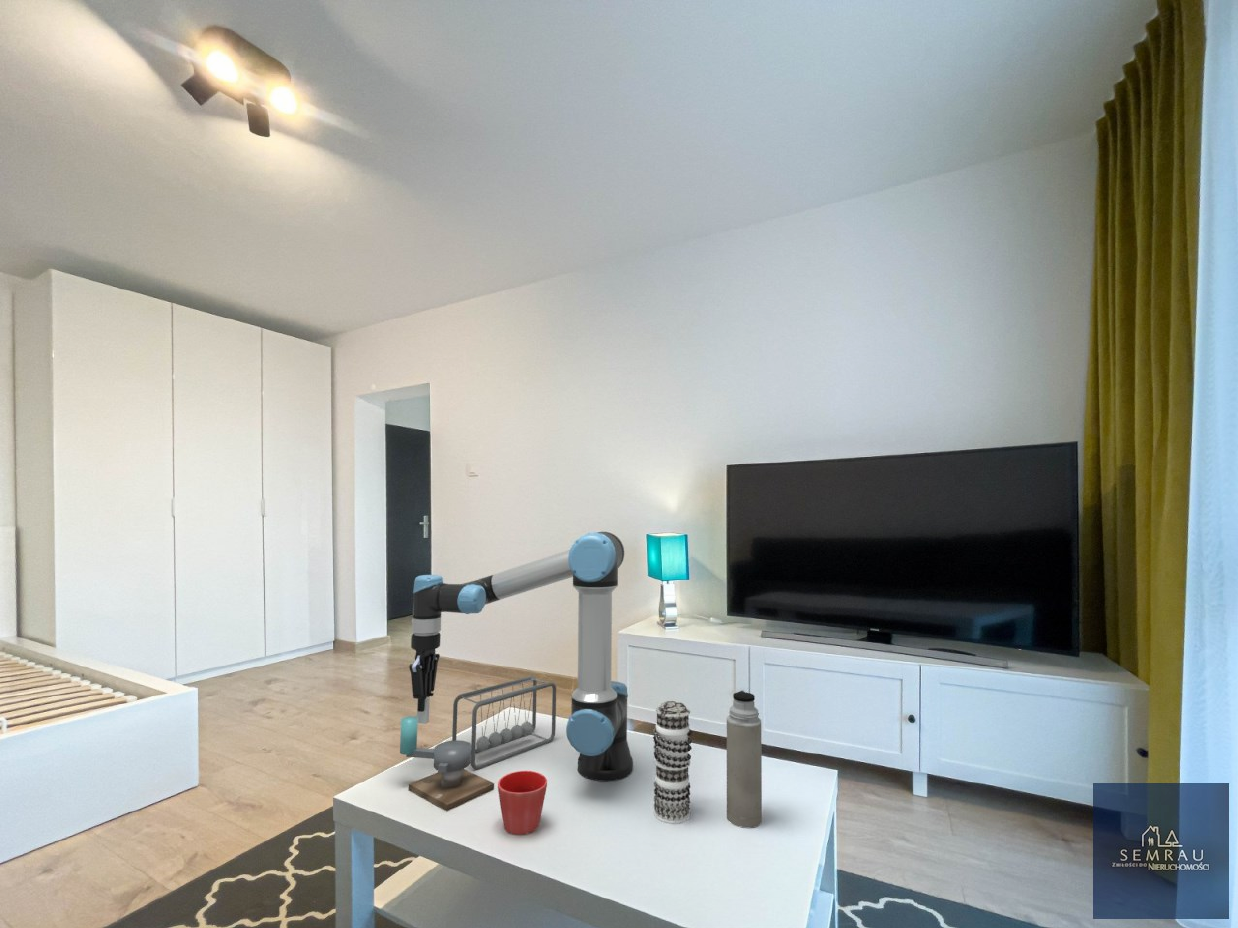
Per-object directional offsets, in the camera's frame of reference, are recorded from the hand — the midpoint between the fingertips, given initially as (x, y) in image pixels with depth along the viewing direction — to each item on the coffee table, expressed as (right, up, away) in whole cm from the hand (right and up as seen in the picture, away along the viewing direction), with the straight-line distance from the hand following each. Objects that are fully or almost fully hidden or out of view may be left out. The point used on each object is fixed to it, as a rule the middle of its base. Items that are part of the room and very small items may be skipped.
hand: (422, 722), depth 157 cm
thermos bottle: (+82, -13, -22) cm, 86 cm away
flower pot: (+31, -12, -26) cm, 42 cm away
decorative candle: (+65, -13, -20) cm, 69 cm away
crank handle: (+6, -6, -9) cm, 12 cm away
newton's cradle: (+20, -15, +14) cm, 28 cm away
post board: (+11, -12, -10) cm, 19 cm away
